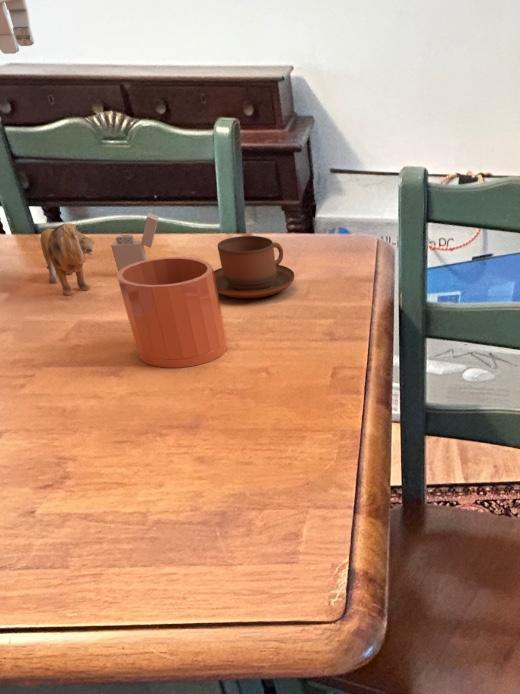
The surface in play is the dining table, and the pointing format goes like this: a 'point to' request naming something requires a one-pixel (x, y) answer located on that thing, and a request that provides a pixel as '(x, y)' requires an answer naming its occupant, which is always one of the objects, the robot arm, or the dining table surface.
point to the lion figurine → (66, 254)
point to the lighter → (134, 245)
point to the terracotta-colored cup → (173, 311)
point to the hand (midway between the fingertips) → (19, 49)
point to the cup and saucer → (251, 268)
